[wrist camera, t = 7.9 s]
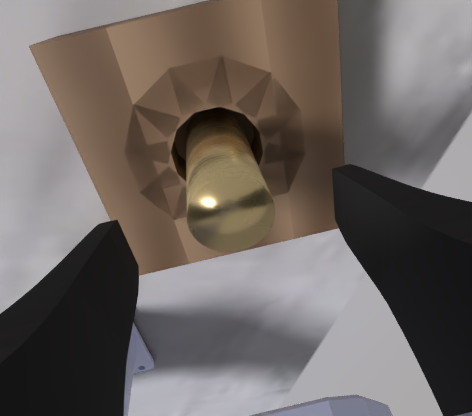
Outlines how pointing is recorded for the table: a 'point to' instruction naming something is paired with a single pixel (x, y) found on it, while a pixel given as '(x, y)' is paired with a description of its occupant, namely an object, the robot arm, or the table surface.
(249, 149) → the brass peg
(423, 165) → the table surface
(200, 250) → the socket block
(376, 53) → the table surface
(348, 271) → the table surface
